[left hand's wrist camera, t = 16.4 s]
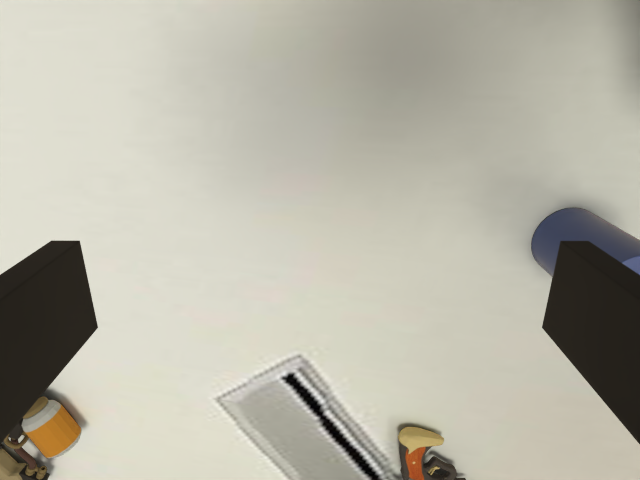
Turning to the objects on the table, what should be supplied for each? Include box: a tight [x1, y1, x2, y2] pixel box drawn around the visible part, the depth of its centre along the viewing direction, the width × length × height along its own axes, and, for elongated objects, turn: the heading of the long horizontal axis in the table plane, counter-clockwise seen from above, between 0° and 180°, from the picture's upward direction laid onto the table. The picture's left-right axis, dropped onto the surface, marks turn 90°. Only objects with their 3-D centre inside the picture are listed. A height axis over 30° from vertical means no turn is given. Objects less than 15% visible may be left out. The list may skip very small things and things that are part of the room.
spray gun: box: [0, 396, 81, 480], centre depth 52 cm, size 4×17×15 cm
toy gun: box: [398, 427, 466, 480], centre depth 55 cm, size 3×19×10 cm
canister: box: [532, 208, 640, 277], centre depth 39 cm, size 7×7×11 cm
